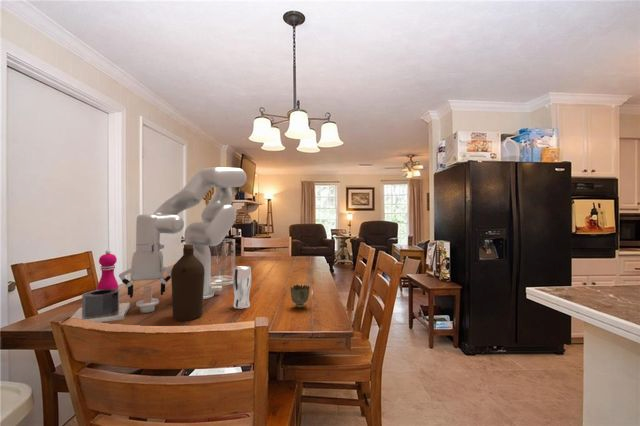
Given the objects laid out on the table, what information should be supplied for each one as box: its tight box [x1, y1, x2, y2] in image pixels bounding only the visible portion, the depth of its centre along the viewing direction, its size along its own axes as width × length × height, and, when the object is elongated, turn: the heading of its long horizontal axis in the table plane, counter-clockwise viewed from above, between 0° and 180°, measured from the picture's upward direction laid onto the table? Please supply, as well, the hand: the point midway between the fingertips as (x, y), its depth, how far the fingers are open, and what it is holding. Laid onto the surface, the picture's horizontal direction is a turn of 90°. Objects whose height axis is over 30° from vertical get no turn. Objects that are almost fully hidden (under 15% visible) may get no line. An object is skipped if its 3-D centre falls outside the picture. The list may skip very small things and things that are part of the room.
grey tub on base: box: [70, 288, 131, 323], centre depth 103 cm, size 15×15×8 cm
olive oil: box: [170, 243, 205, 322], centre depth 103 cm, size 11×11×25 cm
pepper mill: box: [96, 249, 119, 290], centre depth 123 cm, size 7×7×20 cm
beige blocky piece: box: [135, 285, 160, 314], centre depth 108 cm, size 7×7×8 cm
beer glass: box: [232, 265, 252, 310], centre depth 114 cm, size 7×7×15 cm
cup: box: [289, 284, 311, 309], centre depth 114 cm, size 8×7×8 cm
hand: (146, 295), depth 108 cm, fingers open, 9 cm apart
